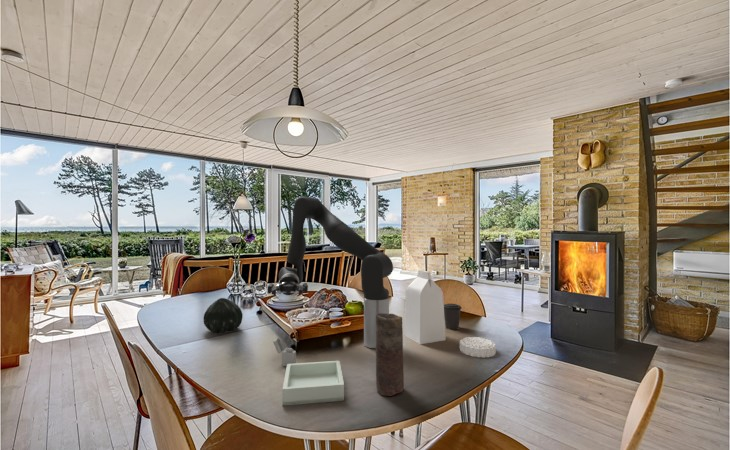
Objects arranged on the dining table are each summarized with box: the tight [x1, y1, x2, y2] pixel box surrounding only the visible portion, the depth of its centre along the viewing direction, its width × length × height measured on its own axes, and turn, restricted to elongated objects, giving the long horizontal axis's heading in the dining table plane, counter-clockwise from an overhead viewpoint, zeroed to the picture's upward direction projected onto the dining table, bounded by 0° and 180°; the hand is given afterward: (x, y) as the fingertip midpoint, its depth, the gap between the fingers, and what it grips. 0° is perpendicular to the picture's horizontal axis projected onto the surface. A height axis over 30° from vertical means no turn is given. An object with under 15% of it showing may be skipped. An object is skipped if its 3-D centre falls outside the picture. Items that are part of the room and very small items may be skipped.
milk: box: [403, 269, 446, 345], centre depth 130 cm, size 12×12×26 cm
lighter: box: [272, 338, 297, 367], centre depth 105 cm, size 7×2×8 cm, turn 78°
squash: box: [203, 297, 244, 335], centre depth 138 cm, size 14×15×15 cm
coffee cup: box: [444, 303, 462, 330], centre depth 143 cm, size 8×8×10 cm
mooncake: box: [459, 336, 497, 359], centre depth 116 cm, size 12×12×4 cm
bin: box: [281, 360, 345, 407], centre depth 89 cm, size 15×15×4 cm
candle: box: [375, 313, 405, 397], centre depth 88 cm, size 8×7×20 cm
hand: (287, 292), depth 115 cm, fingers open, 8 cm apart
